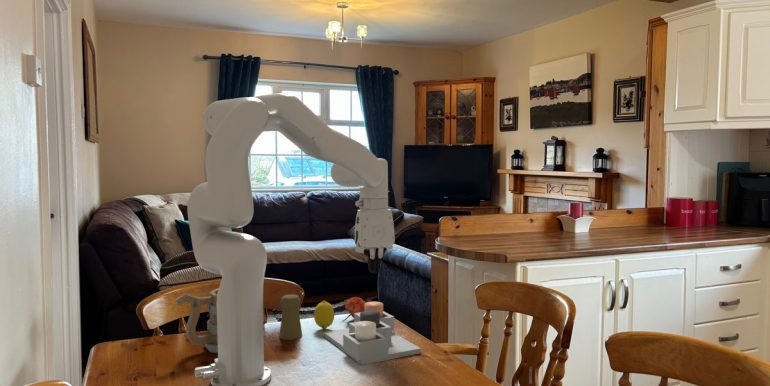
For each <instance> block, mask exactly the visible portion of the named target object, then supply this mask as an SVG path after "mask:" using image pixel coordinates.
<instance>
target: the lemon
mask: <svg viewBox="0 0 770 386" xmlns="http://www.w3.org/2000/svg"><path fill="white" fill-rule="evenodd" d="M334 310H335V309H334V307H333V306H332V304H331V303H329V302H328V301H326V300H322V301H321V302H319V303H318V304H317V305H316V307H315V308H314V312H313V318H314V322H315V324H316V325H317V326H318V327H319V328H321V329H322V330H326V329H327V328H328V327H330V326H332V325H333V322H334V321H335V311H334Z"/></svg>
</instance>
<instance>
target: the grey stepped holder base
mask: <svg viewBox="0 0 770 386" xmlns="http://www.w3.org/2000/svg"><path fill="white" fill-rule="evenodd" d="M360 313H361V312H360ZM360 313H354V318H353V322H349V323H348V327H346V328H339V329H334V330H328V331H323V332H322V333H323V334H322V335H323V337H324V338H325V339H326V340H328V342H330V343H331V344H333V345H334V346H336V347H337V348H338V349H340V350H341V351H342V352H344V353H345V354H346V355H348V356H349V357H350V358H352V359H353V360H355V361H356V362H357V363H359V364H360V365H361V366H362V365H363V366H364V365H367V364H368V365H369V364H373V363H378V362H382V361H388V360H392V359H393V360H394V359H397V358H402V357H408V356H414V355H419V354H421V352H422V351H421V347H419V346H418V345H416V344H414V343H412V342H410V341H408V340H406V338H403V337H402V336H400V335H398V334H397V333H394V331H395V316H394V315H391V314H389V313H388V312H386V311H384V310H383V317H382V318H380V328H376V339H375V340H370V341H364V342H359V341H357V340H356V339H355V323H357V322H360Z"/></svg>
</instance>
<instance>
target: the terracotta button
mask: <svg viewBox="0 0 770 386" xmlns="http://www.w3.org/2000/svg"><path fill="white" fill-rule="evenodd" d="M365 311H377V312H379V313H380V318H382V317H383V311H384V303H383V302H380V301H367V302H366V303H365Z"/></svg>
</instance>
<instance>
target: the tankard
mask: <svg viewBox="0 0 770 386" xmlns="http://www.w3.org/2000/svg"><path fill="white" fill-rule="evenodd" d="M218 290H219V287H218V288H216V289H213V290H211V291H209V293H208V294H209V295H208V296H203V297H199V296H194V295H192V294H189V293H185V292H184V293H182V294H181V295H180V296H178V297H177V298H175V302H176V303H177V305H178V306H182V305H183V304H184V303H189V304H190V311H189V312H190V314H189V316H188V319H187V323H186V325H185V331H186V336H187V338H188V339H189V342H190V343H191V344H192V345H197V346H199V345H201V346H203V345H204V347H205V348H206V349H207V350H208V351H209V352H210V353H212V354H213V353H214V354H218V337H217V294H218ZM202 305H203V306H204V305H206V311H207V312H208V313H209V319H208V320H207V321H206V324H207V325H206V327H207V328H206V330H207V331H208V332H209V333H208V334H207V333H206V334H205V335H199V334H197V330H196V327H197V324H198V322H199V318H200V314H201V306H202Z"/></svg>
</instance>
